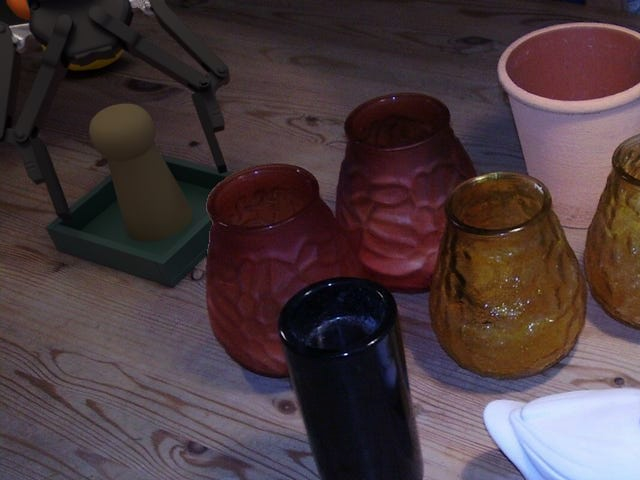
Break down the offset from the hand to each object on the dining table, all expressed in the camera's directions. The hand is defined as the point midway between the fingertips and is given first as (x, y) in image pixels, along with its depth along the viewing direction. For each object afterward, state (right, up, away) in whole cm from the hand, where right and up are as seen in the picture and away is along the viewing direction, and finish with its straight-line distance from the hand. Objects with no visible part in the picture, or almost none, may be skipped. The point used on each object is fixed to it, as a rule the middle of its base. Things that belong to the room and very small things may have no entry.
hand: (145, 193), depth 85 cm
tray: (0, -2, +5) cm, 6 cm away
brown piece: (0, -2, +5) cm, 5 cm away
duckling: (-16, +19, +28) cm, 37 cm away
